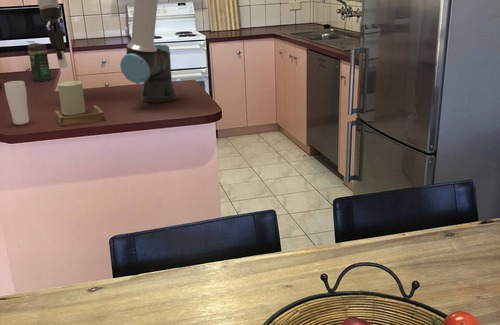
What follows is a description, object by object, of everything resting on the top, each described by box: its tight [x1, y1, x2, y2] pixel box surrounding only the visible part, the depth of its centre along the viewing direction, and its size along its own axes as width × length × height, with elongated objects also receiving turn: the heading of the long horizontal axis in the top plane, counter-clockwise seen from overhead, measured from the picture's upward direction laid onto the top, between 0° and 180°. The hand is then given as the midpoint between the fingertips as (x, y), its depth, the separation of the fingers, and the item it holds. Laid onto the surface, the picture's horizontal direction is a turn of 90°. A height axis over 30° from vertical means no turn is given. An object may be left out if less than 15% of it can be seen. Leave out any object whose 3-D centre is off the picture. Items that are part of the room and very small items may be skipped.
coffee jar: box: [27, 42, 52, 82], centre depth 264 cm, size 10×8×19 cm
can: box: [57, 80, 87, 116], centre depth 202 cm, size 9×9×12 cm
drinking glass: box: [3, 80, 30, 126], centre depth 188 cm, size 7×7×15 cm
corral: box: [54, 104, 106, 128], centre depth 194 cm, size 13×15×3 cm
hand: (63, 67), depth 211 cm, fingers closed
